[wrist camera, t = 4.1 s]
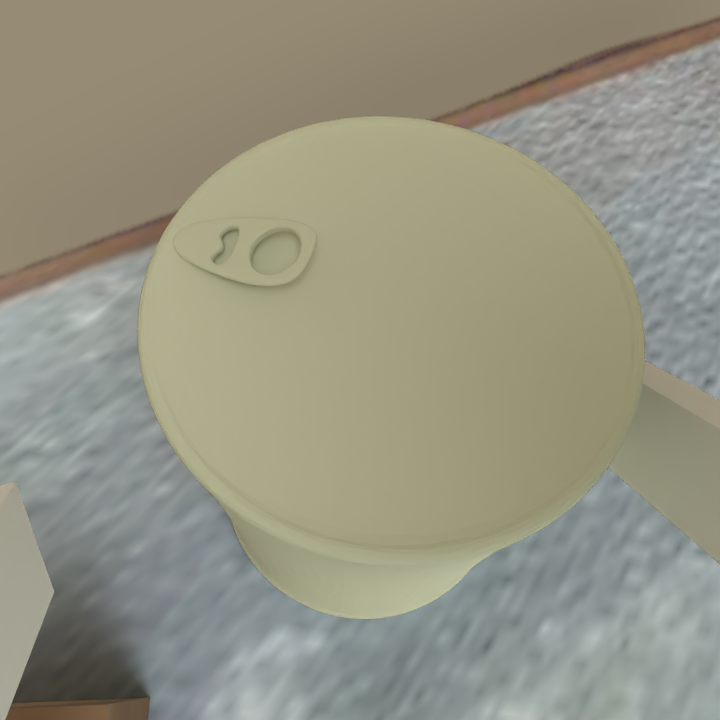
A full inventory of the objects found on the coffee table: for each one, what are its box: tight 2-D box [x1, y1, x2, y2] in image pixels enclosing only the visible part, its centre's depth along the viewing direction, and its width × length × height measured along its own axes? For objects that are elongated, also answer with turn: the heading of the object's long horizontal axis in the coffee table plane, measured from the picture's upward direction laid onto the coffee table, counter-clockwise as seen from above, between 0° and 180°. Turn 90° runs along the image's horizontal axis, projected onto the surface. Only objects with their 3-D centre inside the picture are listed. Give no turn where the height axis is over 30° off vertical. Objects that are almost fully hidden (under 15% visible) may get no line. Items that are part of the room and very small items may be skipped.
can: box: [137, 116, 645, 619], centre depth 17 cm, size 9×9×12 cm
